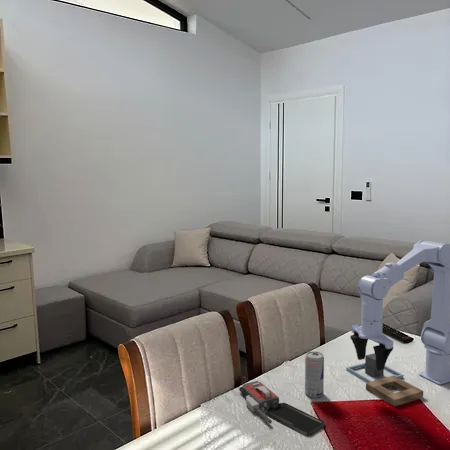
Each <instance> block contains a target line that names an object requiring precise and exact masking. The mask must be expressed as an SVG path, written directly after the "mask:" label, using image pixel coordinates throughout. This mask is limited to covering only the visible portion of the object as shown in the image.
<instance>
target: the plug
mask: <svg viewBox="0 0 450 450" xmlns="http://www.w3.org/2000/svg"><path fill="white" fill-rule="evenodd" d="M364 360H365V361H364V363H365V367H364V374H366V375H367V376H369V377H371V378H373V379H377V378H379V377H382V376H384V375H385V373H384V372H385V371H384V370H385V369H382V370H377V368H376V355H375V352H373V353H370V354H366V355H365V359H364Z"/></svg>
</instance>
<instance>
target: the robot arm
mask: <svg viewBox="0 0 450 450" xmlns="http://www.w3.org/2000/svg"><path fill="white" fill-rule="evenodd" d="M421 263H426V264H428V265H429V266H430V268H431V269H432V270H433V282H432V283H433V284H432V295H431V296H432V297H431V310H430V319H429V320H426V321H425V322H424V323H423V328H422V330H421V333H420V340H421V343H422V344H423V345H424V346H423V347H424V349H425V367H424V368H425V371H422V372H418V375H419V376H421V377H423V378H425V379H427V380H429V381H431V382H433V383H435V384H437V385H444V384H446V383H449V382H450V243H447V242H445V243H444V242H437V241H433V240H432V241H430V240H426V239H420V240H419V241H418V242H416V243H414V245H413V248H412V249H411V250H410V251H409V252H408V253H406V254H405V255H404V256H403V257H402V258H401V259H399V260H398V261H397V262H396V263H395V262H386V263H385V264H384V265H385V266H383V267H381V268H380V269H379V270H378V269H377V271H374V272H373V273H372V274H370V275H368V274H367V275H365V276H363V277H362V278H360V280H359V281H358V285H357V291H358V293H359V295H360V300H361V316H360V317H361V319H360V321H361V324H360V325H352V326H351V331H350V332H351V333H353V334H352V335H350V340H351V341H352V344H353V345H354V346H353V347H354V349H355V353H356V357H357V360H358V361H361V360H362V361H363V360H365V357H366V355H367V346H368V341H372V342H374V343H377V344H378V345H373V347H372V348H373V351H374V353H375V355H376V368H377V370H382V369H384V367H385V366H386V363H387V361H388V358H389V356H390V354H391V353H392V351H394V340H391V339H390V338H389V337H388V336H386V334H384V333H383V320H384V319H383V317H384V316H383V315H384V314H383V312H384V311H383V310H384V299H385V298H386V297H387V295H388V294H389V291H390V290H391V288H392V287H393V286H395V285H396V284H398V283H399V282H400V281H402V280H403V279H404V277H405V273H406V272H408V271H410V270H411V269H412V268H415V267H416V266H418V265H419V264H421ZM384 370H385V369H384Z"/></svg>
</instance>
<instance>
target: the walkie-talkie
mask: <svg viewBox="0 0 450 450" xmlns="http://www.w3.org/2000/svg"><path fill="white" fill-rule="evenodd" d="M239 392H240V393H241V395H242V396H243V397H244V398H245V401H246V403H245V404H246V407H247V408H248V409H249V410H250V411H251V412H252V413H255V412H256V414H258V415H259V416H260V417H262V419H264V420H265V421H267V423H268V424H272V422H273V420H272V419H270V417H269V416H267V415H266V413H264V411H266V410H268V409H270V408H272V407H273V408H275V407H277V406H278V404H279V403H280V397H279V396H278V395H277V394H275V393H274V392H273V391H272V390H271V389H270V388H268V387H267V386H266V385H264V384H263V383H262V382H261V381H258V380H256V381H251V382H248V383H243V384H242V386H241V387H239Z"/></svg>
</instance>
